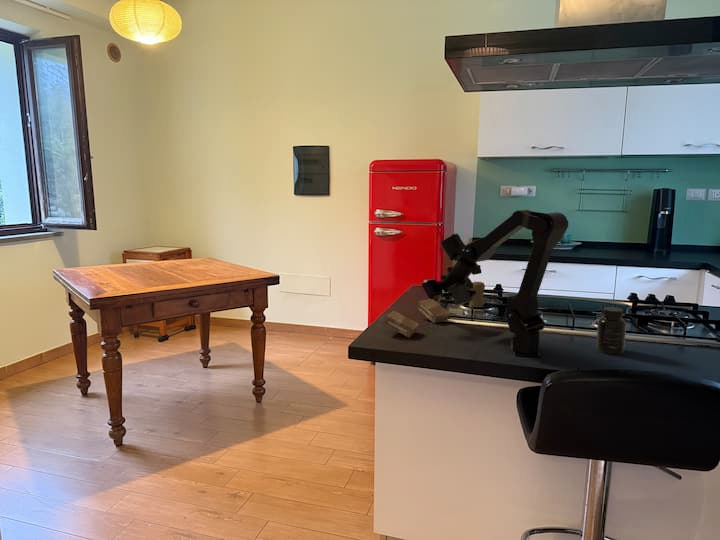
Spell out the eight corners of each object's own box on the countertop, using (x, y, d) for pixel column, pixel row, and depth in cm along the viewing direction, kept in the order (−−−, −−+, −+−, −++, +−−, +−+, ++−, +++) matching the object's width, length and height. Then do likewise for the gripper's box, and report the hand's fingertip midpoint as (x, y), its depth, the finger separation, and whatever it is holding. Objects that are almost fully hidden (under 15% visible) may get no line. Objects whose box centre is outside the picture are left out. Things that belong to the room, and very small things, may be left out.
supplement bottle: (595, 345, 135) (598, 304, 133) (622, 348, 133) (625, 306, 131) (596, 353, 129) (600, 311, 127) (625, 356, 127) (629, 313, 124)
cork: (466, 312, 172) (467, 282, 170) (470, 308, 177) (471, 279, 175) (483, 314, 169) (483, 284, 167) (487, 310, 174) (487, 281, 172)
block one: (419, 323, 146) (393, 310, 148) (412, 329, 140) (386, 315, 143) (415, 332, 147) (390, 318, 149) (409, 338, 141) (382, 324, 144)
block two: (449, 312, 157) (431, 298, 163) (435, 316, 154) (418, 301, 160) (447, 320, 159) (429, 305, 165) (433, 323, 155) (416, 308, 161)
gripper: (452, 297, 138) (426, 325, 149) (494, 288, 149) (467, 315, 159) (433, 267, 143) (409, 297, 154) (475, 260, 154) (450, 288, 164)
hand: (435, 300), depth 158 cm, fingers closed
